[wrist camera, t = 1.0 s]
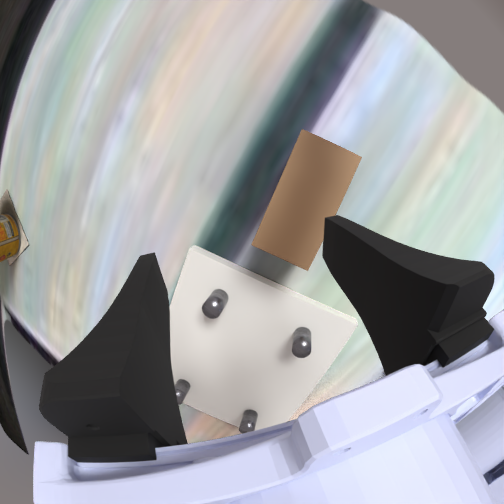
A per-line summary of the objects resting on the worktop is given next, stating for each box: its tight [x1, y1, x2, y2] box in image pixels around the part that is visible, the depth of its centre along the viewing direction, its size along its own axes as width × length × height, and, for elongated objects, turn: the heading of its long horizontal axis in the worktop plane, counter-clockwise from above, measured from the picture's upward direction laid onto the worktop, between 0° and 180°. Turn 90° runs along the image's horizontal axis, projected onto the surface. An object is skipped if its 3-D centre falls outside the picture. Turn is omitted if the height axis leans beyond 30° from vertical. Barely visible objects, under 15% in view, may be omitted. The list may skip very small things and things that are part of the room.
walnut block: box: [252, 129, 362, 271], centre depth 21 cm, size 4×8×6 cm, turn 157°
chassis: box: [170, 245, 358, 434], centre depth 27 cm, size 16×18×4 cm
